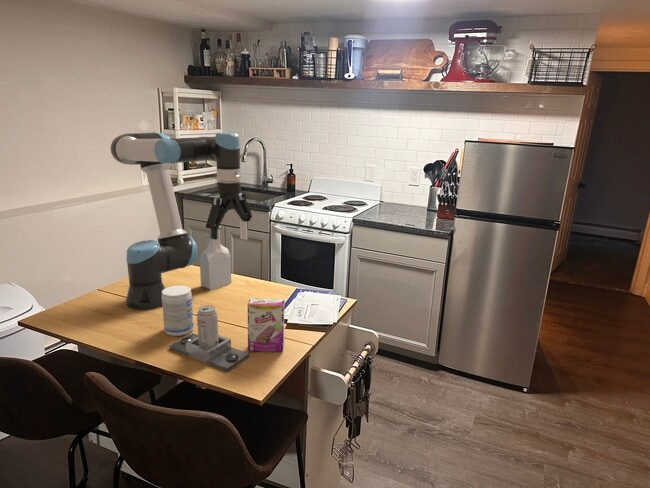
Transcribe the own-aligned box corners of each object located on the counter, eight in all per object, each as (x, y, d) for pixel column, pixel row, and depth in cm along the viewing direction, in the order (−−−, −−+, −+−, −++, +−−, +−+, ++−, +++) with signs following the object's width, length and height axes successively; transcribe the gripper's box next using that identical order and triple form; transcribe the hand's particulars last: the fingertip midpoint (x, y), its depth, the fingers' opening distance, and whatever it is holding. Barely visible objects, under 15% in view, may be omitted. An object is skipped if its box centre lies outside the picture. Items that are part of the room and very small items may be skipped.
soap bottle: (212, 291, 192) (209, 227, 185) (200, 286, 197) (197, 223, 190) (234, 284, 200) (232, 222, 192) (222, 279, 205) (219, 219, 198)
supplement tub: (195, 334, 156) (193, 293, 152) (166, 339, 152) (163, 297, 148) (191, 322, 165) (188, 283, 161) (162, 326, 161) (159, 287, 157)
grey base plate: (169, 349, 147) (168, 337, 145) (192, 336, 155) (192, 325, 154) (227, 371, 135) (226, 359, 134) (249, 356, 143) (249, 345, 142)
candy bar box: (247, 352, 146) (246, 304, 141) (249, 344, 151) (248, 297, 146) (283, 353, 146) (283, 304, 141) (284, 345, 151) (284, 298, 146)
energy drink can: (221, 355, 144) (219, 310, 140) (202, 359, 141) (199, 314, 137) (215, 346, 149) (213, 303, 145) (196, 350, 146) (194, 306, 142)
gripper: (210, 187, 141) (213, 254, 147) (261, 178, 161) (262, 237, 167) (192, 184, 144) (195, 250, 150) (244, 176, 165) (246, 233, 171)
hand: (230, 243), depth 159 cm, fingers open, 13 cm apart
